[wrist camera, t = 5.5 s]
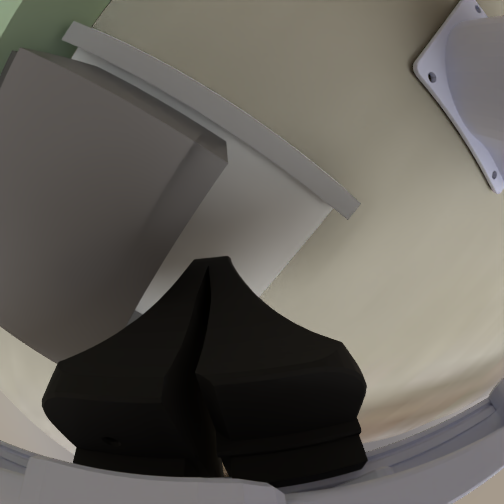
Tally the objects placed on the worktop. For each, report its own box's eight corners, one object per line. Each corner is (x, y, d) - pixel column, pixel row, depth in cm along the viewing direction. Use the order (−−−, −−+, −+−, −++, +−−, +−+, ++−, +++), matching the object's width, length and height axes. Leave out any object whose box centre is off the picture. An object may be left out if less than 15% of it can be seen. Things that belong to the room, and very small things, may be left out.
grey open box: (226, 141, 10) (228, 163, 6) (126, 301, 13) (95, 384, 8) (97, 66, 8) (19, 47, 4) (25, 238, 11) (-36, 297, 6)
